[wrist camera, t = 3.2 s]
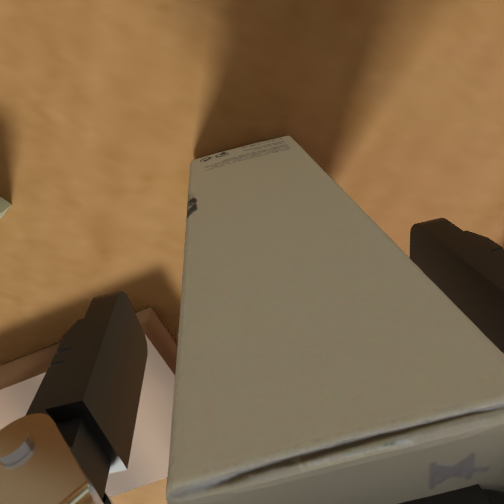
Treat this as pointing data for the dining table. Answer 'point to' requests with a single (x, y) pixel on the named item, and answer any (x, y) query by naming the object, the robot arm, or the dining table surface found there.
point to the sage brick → (3, 206)
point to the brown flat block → (149, 411)
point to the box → (318, 350)
